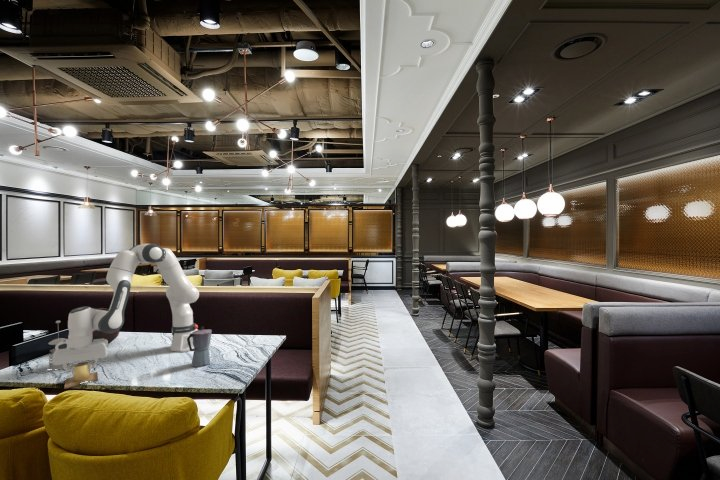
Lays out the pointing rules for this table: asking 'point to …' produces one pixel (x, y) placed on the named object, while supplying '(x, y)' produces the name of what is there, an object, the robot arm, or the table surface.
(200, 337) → the moka pot
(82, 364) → the ochre cup
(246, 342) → the table surface
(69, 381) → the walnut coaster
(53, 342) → the french press
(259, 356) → the table surface
